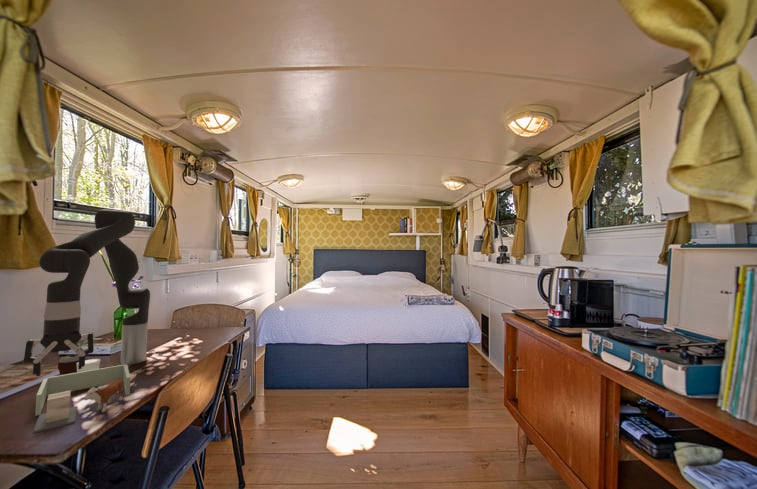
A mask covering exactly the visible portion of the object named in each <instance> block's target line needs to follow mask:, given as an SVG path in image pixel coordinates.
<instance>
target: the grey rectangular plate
mask: <svg viewBox="0 0 757 489" xmlns="http://www.w3.org/2000/svg"><path fill="white" fill-rule="evenodd" d="M77 410H78V405H77V406H76V405H75V406H70V413H69V418H65V419H61V420H57V421H53V422H49V423H46V413H47V412H45V413H41V414H40V415H38V418H37V421H36V423H35V426H34V429H33V434H34V433H39V432H43V431H48V430H52V429H56V428H60V427H63V426H68V425H71V424H75V423H76V419H77Z"/></svg>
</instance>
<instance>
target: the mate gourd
mask: <svg viewBox="0 0 757 489" xmlns="http://www.w3.org/2000/svg"><path fill="white" fill-rule="evenodd" d="M84 342H86V341H85V340H84V339H82V341H80V343H79V346H80V347H81V348H82V346H83V344H84ZM79 356H80V355H79V354H77V353H76V352H75V354H67V355H65V356H62V357H61V358H60V359H59V361H58V364H57V371H58V372H59V375H65V374H71V373H77V363H78V362H79Z"/></svg>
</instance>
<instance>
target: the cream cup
mask: <svg viewBox="0 0 757 489" xmlns="http://www.w3.org/2000/svg"><path fill="white" fill-rule="evenodd" d="M100 365H101V359H100V358H90V359H85V365H84V367H82V369H78V366H79V362H78V363H77V372H83V371H89V370H95V369H100Z"/></svg>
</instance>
